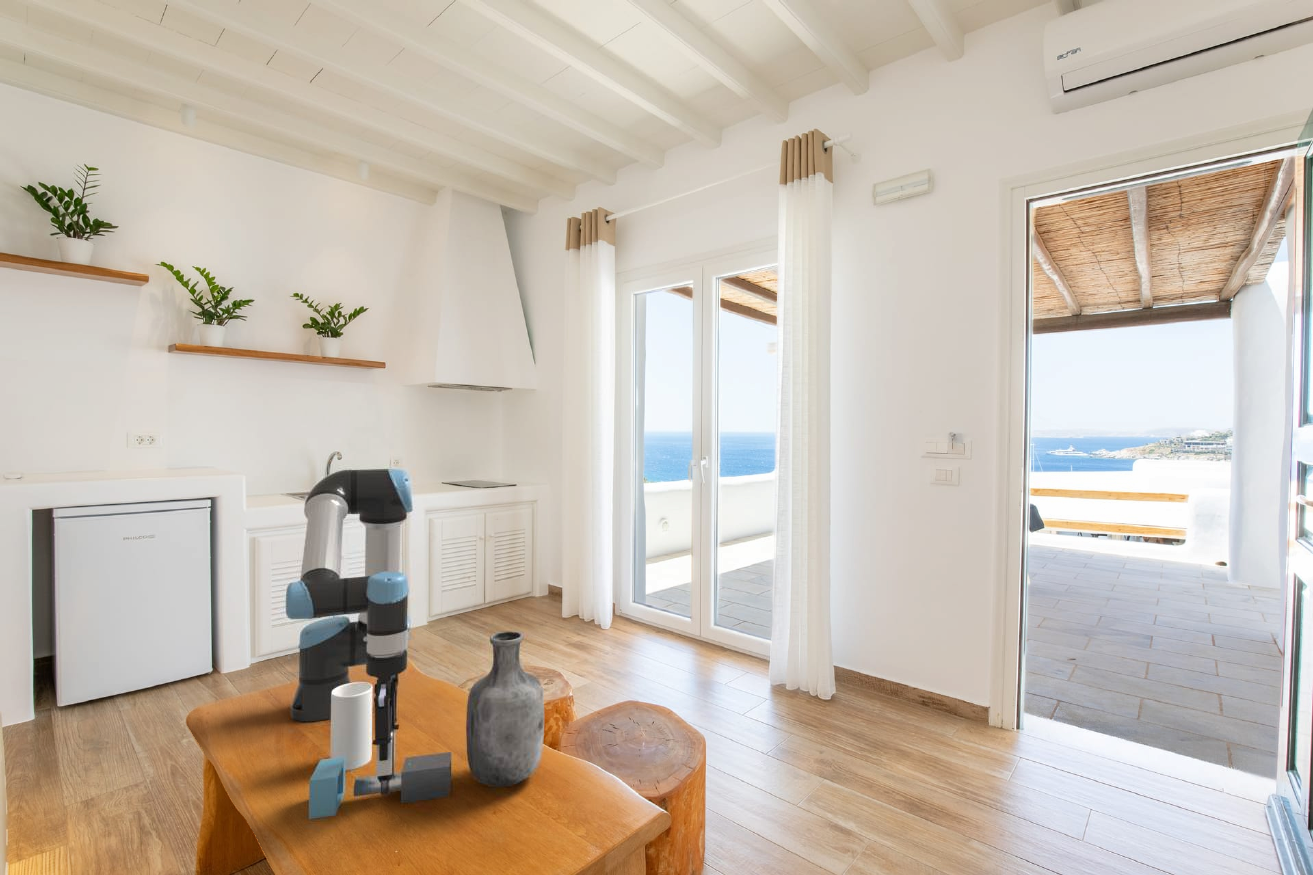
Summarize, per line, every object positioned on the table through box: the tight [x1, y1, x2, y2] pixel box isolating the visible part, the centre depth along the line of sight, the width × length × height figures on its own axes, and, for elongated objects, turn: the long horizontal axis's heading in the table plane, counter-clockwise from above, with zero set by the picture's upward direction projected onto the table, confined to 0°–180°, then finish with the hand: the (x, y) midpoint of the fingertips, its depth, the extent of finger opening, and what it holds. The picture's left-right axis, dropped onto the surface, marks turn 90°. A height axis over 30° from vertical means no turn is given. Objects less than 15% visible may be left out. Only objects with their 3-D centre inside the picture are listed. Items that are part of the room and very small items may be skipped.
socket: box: [308, 757, 346, 820], centre depth 118 cm, size 4×8×7 cm, turn 15°
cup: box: [329, 681, 373, 772], centre depth 135 cm, size 8×8×16 cm
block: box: [400, 751, 452, 804], centre depth 123 cm, size 9×6×6 cm, turn 105°
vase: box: [465, 631, 545, 788], centre depth 128 cm, size 16×16×30 cm
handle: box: [353, 729, 402, 797], centre depth 122 cm, size 17×4×12 cm, turn 105°
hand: (385, 769), depth 121 cm, fingers closed on handle, 3 cm apart
